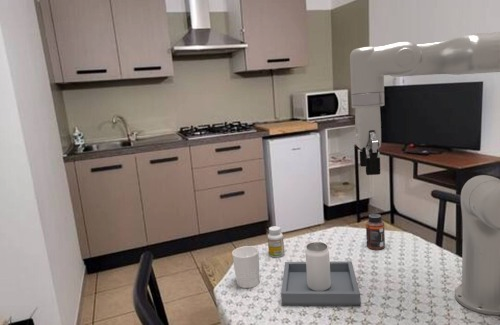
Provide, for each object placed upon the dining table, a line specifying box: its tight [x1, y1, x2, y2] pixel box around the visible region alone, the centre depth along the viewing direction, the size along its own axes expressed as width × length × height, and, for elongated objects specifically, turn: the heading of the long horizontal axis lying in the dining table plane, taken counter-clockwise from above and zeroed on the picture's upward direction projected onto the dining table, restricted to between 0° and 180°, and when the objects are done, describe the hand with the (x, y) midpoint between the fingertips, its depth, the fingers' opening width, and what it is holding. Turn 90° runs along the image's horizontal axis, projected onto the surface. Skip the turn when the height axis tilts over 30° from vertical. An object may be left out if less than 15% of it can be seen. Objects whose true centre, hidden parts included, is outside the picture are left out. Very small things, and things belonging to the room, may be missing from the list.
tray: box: [280, 260, 361, 307], centre depth 102 cm, size 20×18×4 cm
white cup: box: [231, 245, 260, 289], centre depth 108 cm, size 8×8×10 cm
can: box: [305, 241, 331, 291], centre depth 101 cm, size 6×6×12 cm
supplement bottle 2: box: [365, 213, 386, 251], centre depth 125 cm, size 6×6×11 cm
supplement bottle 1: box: [267, 225, 285, 258], centre depth 126 cm, size 5×5×10 cm
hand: (369, 170), depth 90 cm, fingers open, 9 cm apart
